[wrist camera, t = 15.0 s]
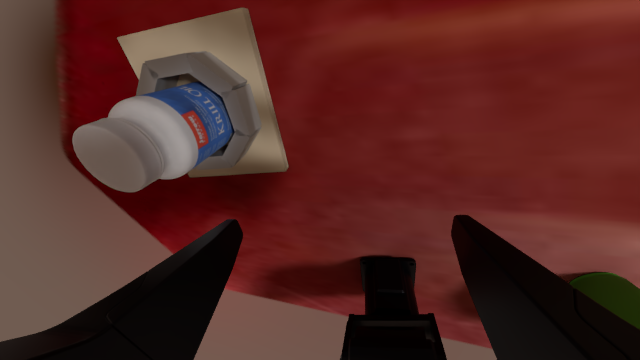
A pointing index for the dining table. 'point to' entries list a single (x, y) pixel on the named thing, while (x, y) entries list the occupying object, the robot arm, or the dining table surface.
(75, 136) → the pill bottle
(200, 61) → the collar
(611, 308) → the cup
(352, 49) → the dining table surface
